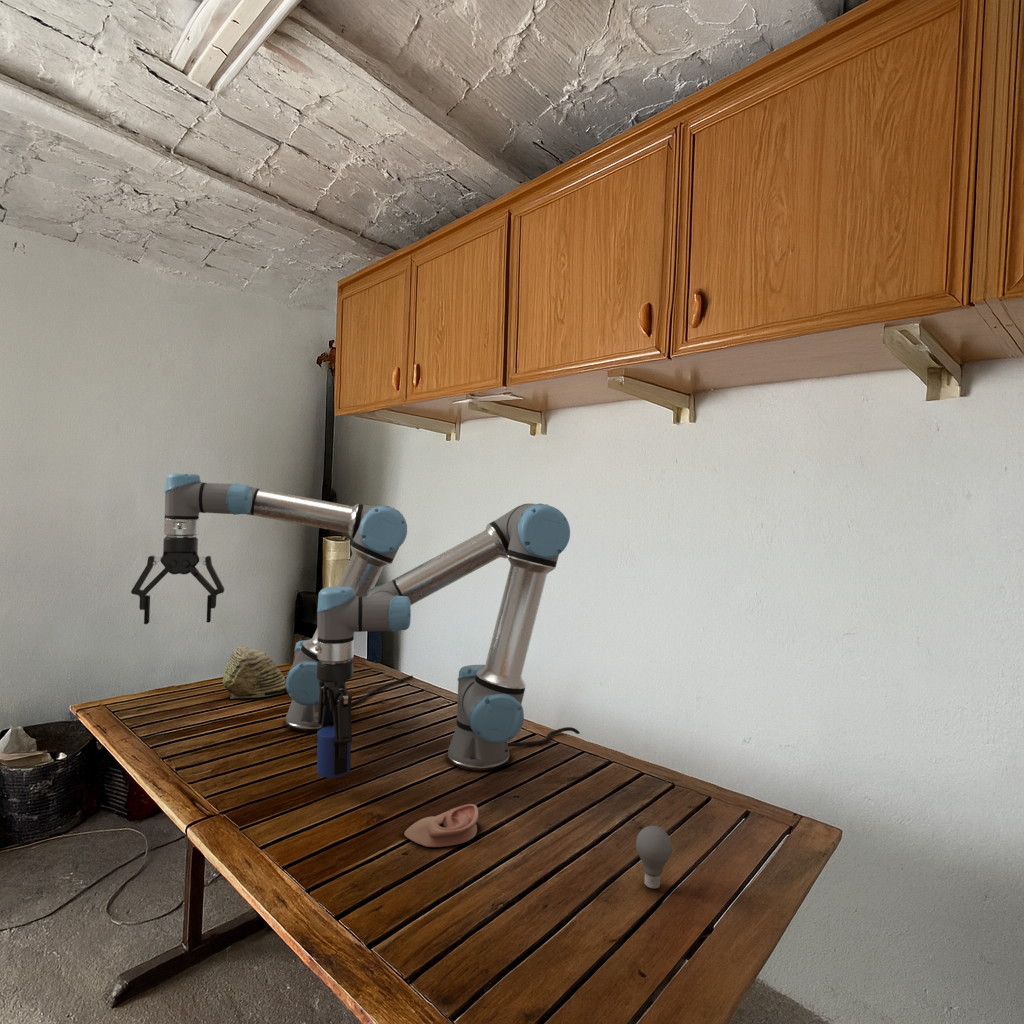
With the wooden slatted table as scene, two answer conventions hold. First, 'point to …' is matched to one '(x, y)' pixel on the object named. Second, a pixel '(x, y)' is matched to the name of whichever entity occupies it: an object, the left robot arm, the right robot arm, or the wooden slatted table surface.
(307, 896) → the wooden slatted table surface
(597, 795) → the wooden slatted table surface
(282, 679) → the fossil
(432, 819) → the anatomical model
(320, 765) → the canister
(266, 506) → the left robot arm
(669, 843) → the light bulb
